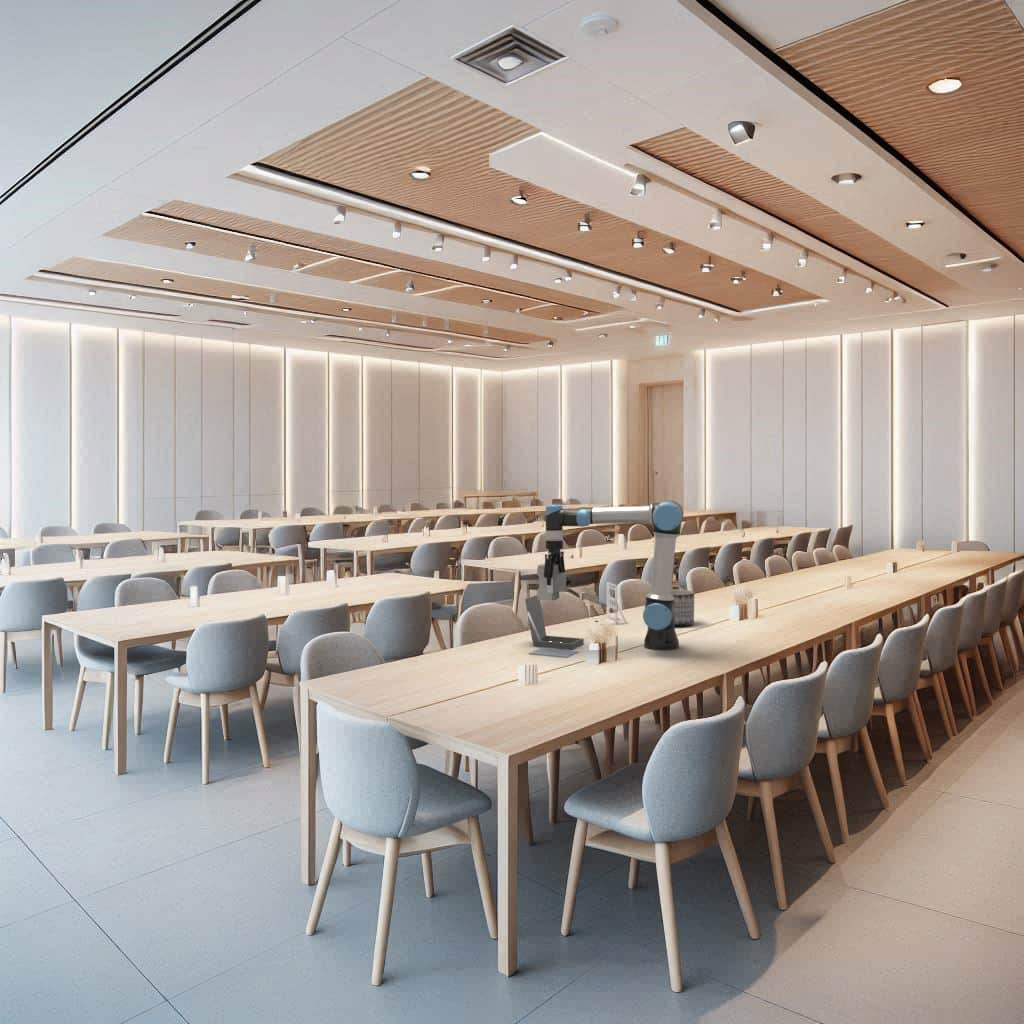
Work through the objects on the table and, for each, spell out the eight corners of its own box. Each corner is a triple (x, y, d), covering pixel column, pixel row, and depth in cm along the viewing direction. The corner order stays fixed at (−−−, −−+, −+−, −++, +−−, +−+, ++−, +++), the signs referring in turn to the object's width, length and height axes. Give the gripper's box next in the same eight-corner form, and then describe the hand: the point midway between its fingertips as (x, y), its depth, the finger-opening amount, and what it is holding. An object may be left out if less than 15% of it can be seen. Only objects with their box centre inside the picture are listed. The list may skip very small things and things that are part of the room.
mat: (578, 652, 367) (578, 651, 367) (567, 657, 357) (567, 656, 357) (540, 648, 376) (540, 647, 376) (528, 654, 365) (528, 653, 365)
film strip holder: (593, 620, 442) (592, 582, 441) (618, 619, 446) (617, 581, 445) (602, 625, 428) (602, 586, 428) (628, 624, 432) (628, 584, 431)
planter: (649, 626, 424) (649, 593, 424) (664, 620, 441) (663, 588, 440) (686, 629, 414) (686, 595, 413) (700, 623, 431) (699, 590, 430)
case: (583, 644, 384) (583, 597, 383) (571, 650, 372) (570, 601, 371) (538, 640, 395) (537, 594, 394) (524, 645, 382) (524, 598, 381)
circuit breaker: (569, 600, 368) (569, 566, 368) (537, 599, 372) (536, 565, 371) (572, 598, 376) (572, 564, 375) (541, 597, 379) (540, 563, 379)
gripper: (557, 537, 384) (558, 587, 385) (535, 541, 365) (535, 594, 366) (572, 538, 380) (573, 588, 381) (550, 542, 361) (551, 595, 363)
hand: (554, 591), depth 374 cm, fingers closed on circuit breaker, 9 cm apart
